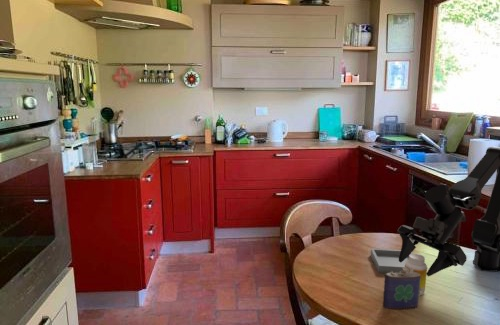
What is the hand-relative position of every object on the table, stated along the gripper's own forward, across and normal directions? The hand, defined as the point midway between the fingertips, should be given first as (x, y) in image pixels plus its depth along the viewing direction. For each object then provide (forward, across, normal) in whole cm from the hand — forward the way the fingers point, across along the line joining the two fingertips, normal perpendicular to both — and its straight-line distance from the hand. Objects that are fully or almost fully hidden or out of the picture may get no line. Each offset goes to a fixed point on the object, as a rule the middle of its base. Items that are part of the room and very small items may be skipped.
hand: (413, 268), depth 105 cm
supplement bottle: (+4, 0, +6) cm, 7 cm away
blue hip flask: (+11, +4, -1) cm, 12 cm away
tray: (-2, -14, +12) cm, 18 cm away
